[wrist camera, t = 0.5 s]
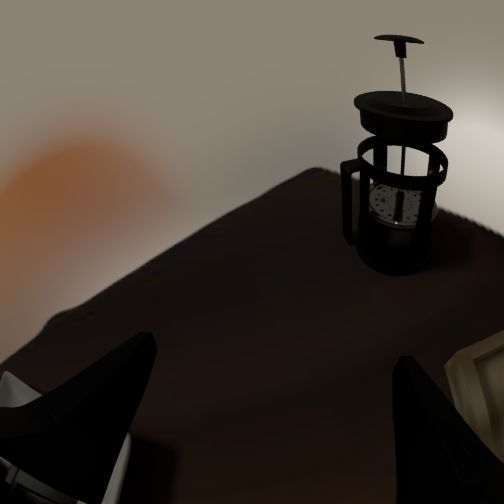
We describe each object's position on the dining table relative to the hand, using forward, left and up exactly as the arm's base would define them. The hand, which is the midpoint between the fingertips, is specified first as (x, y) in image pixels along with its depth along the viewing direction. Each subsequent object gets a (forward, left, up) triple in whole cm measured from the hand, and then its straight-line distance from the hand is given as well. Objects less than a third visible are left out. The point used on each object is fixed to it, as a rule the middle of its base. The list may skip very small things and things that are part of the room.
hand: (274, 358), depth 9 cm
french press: (+17, -13, -15) cm, 26 cm away
